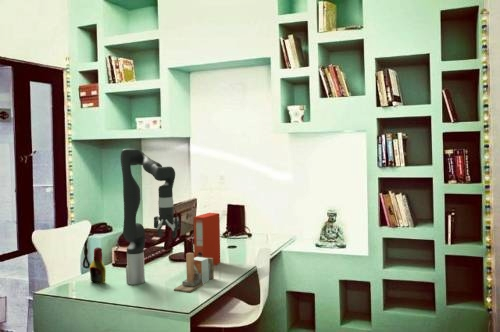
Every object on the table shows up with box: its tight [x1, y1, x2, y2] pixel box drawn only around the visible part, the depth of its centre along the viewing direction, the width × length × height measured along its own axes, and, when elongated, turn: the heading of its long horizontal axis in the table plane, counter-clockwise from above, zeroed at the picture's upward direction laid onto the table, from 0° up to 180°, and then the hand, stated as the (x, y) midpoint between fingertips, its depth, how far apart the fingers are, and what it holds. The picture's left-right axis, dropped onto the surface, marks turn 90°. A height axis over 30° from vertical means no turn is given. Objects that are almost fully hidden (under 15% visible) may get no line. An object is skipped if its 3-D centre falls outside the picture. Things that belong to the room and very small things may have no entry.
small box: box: [194, 257, 210, 284], centre depth 268 cm, size 8×6×13 cm
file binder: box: [193, 212, 221, 267], centre depth 301 cm, size 8×17×32 cm, turn 150°
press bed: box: [173, 257, 215, 294], centre depth 263 cm, size 10×26×12 cm, turn 156°
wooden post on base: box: [181, 252, 201, 287], centre depth 260 cm, size 7×8×17 cm
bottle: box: [89, 247, 107, 285], centre depth 271 cm, size 12×6×20 cm, turn 48°
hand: (167, 237), depth 245 cm, fingers open, 8 cm apart
